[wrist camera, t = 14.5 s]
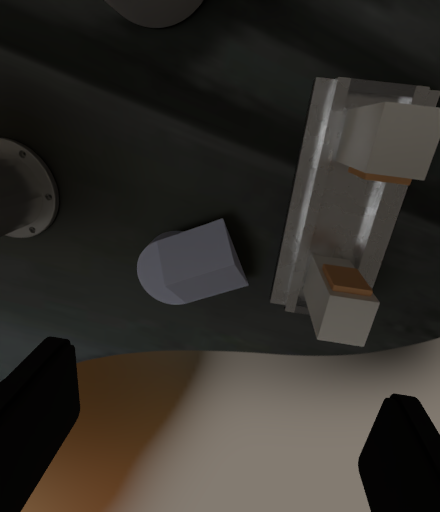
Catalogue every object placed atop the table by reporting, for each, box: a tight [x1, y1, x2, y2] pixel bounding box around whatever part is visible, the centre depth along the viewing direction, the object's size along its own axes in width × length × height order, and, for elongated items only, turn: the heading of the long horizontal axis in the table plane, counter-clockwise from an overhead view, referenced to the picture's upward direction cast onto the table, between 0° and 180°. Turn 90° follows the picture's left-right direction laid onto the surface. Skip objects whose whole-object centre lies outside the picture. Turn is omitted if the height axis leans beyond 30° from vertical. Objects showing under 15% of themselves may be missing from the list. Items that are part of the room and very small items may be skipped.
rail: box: [270, 77, 440, 315], centre depth 35 cm, size 12×26×3 cm, turn 174°
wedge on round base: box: [137, 218, 249, 305], centre depth 38 cm, size 9×7×13 cm
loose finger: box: [335, 102, 440, 185], centre depth 28 cm, size 4×6×10 cm
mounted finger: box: [303, 255, 380, 347], centre depth 34 cm, size 4×6×10 cm
